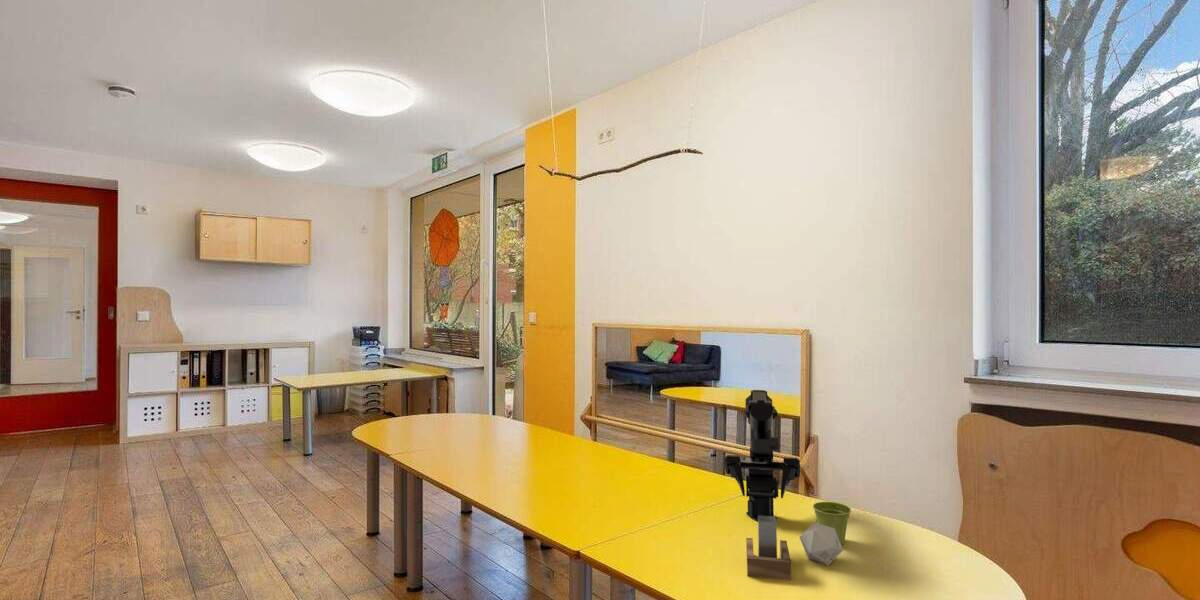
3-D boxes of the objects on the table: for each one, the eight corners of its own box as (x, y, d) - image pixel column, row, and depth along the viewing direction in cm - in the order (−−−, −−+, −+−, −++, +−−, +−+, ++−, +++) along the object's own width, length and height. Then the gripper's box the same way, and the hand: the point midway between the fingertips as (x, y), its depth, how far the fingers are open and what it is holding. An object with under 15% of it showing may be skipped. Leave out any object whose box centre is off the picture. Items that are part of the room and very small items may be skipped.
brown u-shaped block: (746, 554, 145) (746, 537, 145) (786, 557, 143) (786, 540, 143) (747, 576, 133) (747, 558, 133) (791, 580, 131) (791, 562, 131)
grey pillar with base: (758, 558, 142) (757, 513, 142) (775, 560, 141) (774, 514, 141) (759, 571, 135) (758, 523, 135) (777, 573, 134) (776, 524, 134)
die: (811, 572, 136) (839, 541, 134) (786, 541, 143) (812, 511, 141) (829, 575, 141) (856, 545, 139) (804, 545, 148) (829, 516, 146)
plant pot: (857, 540, 153) (856, 506, 153) (843, 551, 146) (842, 516, 146) (821, 531, 159) (821, 499, 159) (806, 541, 152) (806, 508, 152)
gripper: (723, 424, 154) (722, 478, 144) (798, 426, 149) (802, 482, 139) (726, 447, 162) (725, 500, 151) (797, 449, 157) (801, 504, 146)
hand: (762, 496), depth 147 cm, fingers open, 9 cm apart
